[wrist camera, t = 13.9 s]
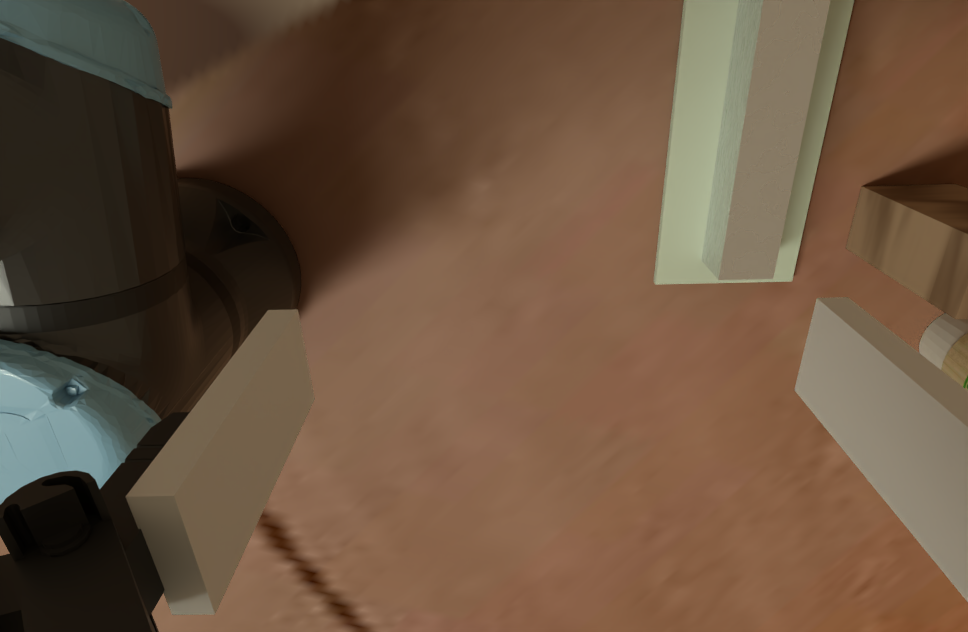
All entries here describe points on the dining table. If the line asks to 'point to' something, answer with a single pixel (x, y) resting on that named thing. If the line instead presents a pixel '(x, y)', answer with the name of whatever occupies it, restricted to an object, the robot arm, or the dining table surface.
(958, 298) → the post
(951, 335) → the coffee cup
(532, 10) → the dining table surface
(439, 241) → the dining table surface
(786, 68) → the rail
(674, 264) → the mat
